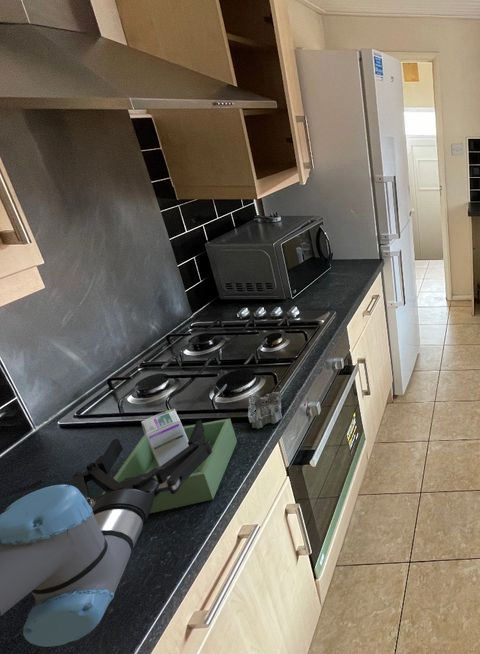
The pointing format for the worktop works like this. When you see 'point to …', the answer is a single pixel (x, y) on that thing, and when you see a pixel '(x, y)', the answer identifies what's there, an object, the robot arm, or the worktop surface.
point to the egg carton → (264, 409)
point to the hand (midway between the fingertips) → (160, 434)
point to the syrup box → (165, 436)
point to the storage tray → (198, 483)
